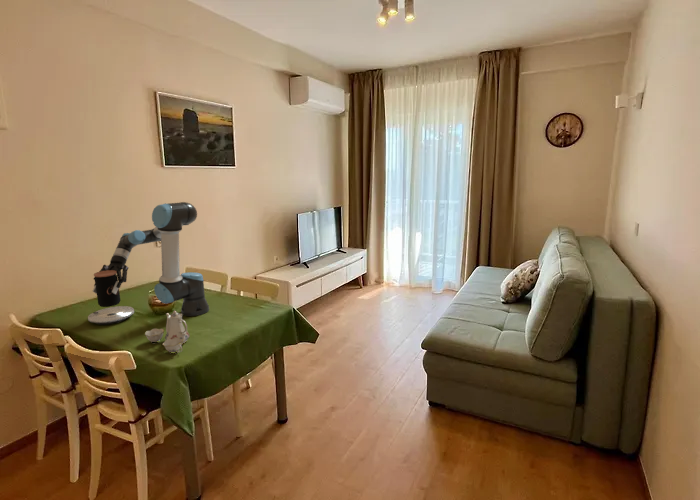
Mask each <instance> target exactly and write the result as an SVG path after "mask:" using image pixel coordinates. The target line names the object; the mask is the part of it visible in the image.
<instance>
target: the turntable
mask: <svg viewBox="0 0 700 500" xmlns="http://www.w3.org/2000/svg"><path fill="white" fill-rule="evenodd" d="M134 313H135V309H134V308H133V307H132V306H127V305H120V306H119V305H117V306H110V307H104V308H102V309H99V310H96V311H92V312H91V313H90V314H88V316H87V320H88V322H90V323H92V324H96V323H108V322H114V321H118V320H122V319H125V318H127V317H128V318H130V317H131V316H132V315H134ZM128 318H127V319H128Z"/></svg>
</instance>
